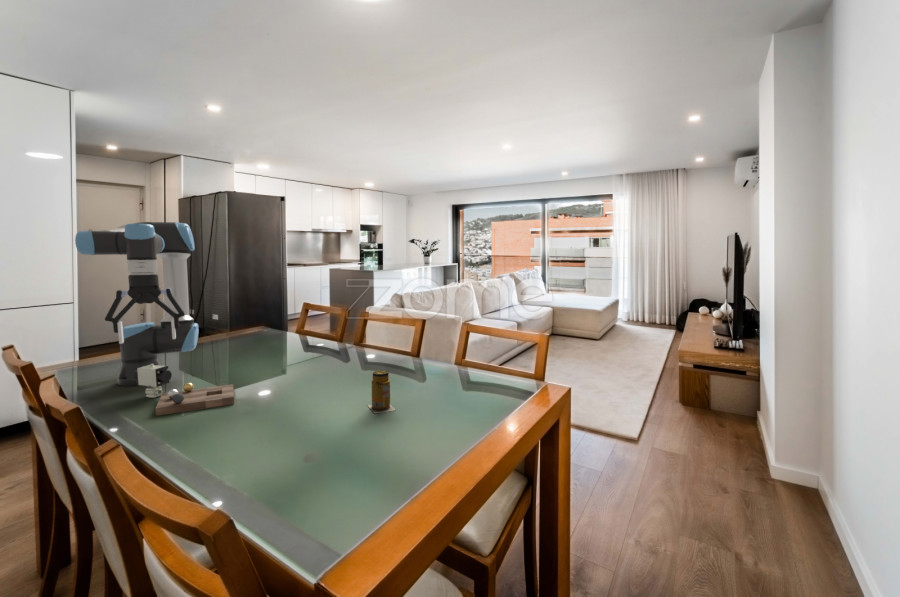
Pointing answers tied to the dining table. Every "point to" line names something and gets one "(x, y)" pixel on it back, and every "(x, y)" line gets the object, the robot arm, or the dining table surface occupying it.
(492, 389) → the dining table surface
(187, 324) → the robot arm
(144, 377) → the pneumatic valve
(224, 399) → the board
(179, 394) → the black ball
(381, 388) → the condiment
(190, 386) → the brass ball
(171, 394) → the steel ball
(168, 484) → the dining table surface
